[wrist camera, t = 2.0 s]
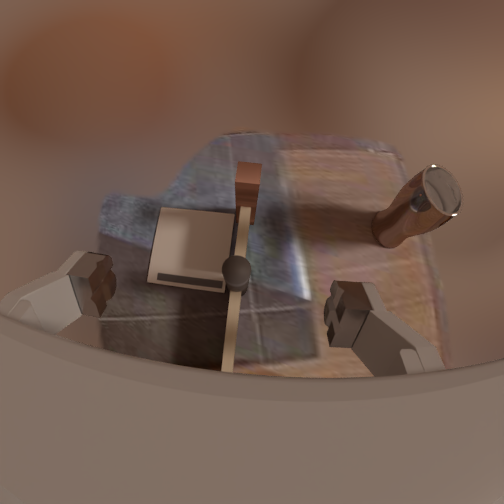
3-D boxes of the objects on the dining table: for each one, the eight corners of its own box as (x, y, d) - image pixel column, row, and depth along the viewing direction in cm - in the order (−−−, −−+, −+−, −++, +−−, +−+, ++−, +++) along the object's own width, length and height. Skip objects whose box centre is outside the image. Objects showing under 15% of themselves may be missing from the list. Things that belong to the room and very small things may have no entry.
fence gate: (248, 275, 37) (251, 253, 26) (229, 273, 37) (225, 250, 26) (255, 208, 40) (261, 163, 28) (238, 206, 39) (238, 161, 28)
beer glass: (368, 248, 40) (425, 211, 25) (367, 205, 41) (416, 156, 27) (406, 253, 40) (468, 222, 25) (404, 212, 41) (458, 170, 27)
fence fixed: (235, 391, 34) (234, 423, 22) (216, 388, 34) (205, 419, 22) (248, 278, 38) (252, 257, 25) (228, 276, 38) (223, 253, 25)
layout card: (224, 292, 37) (224, 292, 37) (147, 282, 37) (146, 281, 37) (234, 214, 40) (234, 214, 40) (161, 207, 40) (161, 207, 39)
